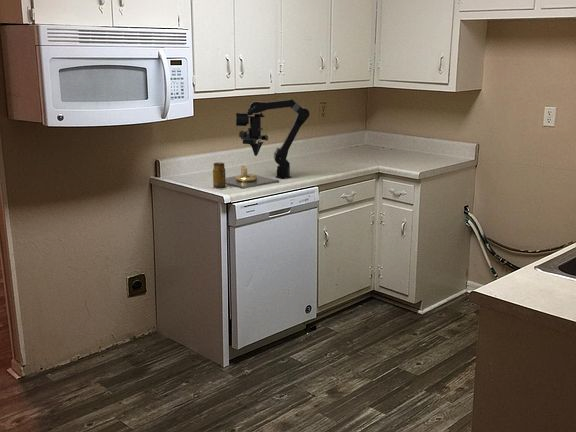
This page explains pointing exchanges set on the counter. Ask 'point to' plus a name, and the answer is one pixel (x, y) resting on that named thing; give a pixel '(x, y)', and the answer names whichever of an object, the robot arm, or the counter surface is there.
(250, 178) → the brass lever handle
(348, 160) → the counter surface
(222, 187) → the condiment
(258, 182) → the base plate
